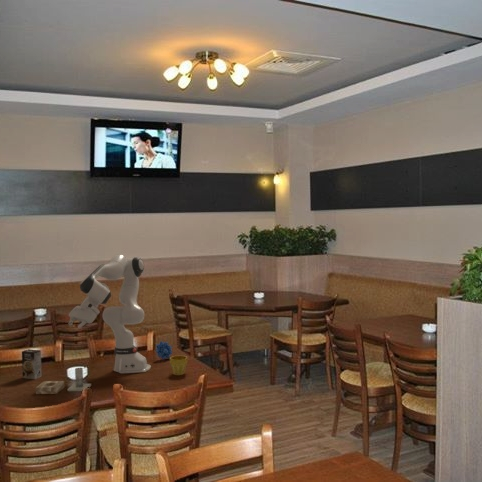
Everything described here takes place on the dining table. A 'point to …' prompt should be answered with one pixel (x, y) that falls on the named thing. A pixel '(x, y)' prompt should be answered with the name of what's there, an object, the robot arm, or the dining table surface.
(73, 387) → the sage plate
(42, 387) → the pocket block
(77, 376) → the metal peg
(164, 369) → the dining table surface
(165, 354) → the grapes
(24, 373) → the coffee box
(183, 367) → the plant pot
